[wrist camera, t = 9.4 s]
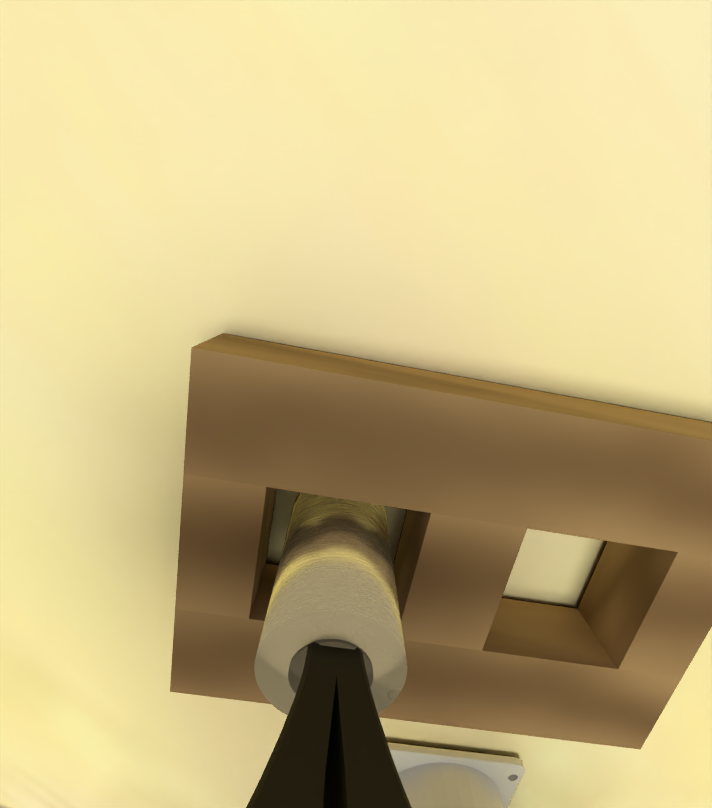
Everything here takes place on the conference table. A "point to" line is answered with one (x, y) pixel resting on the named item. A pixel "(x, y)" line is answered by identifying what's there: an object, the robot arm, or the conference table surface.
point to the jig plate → (452, 534)
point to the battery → (333, 599)
